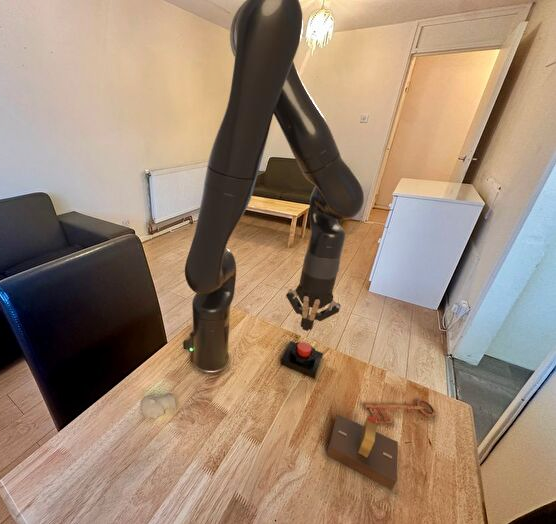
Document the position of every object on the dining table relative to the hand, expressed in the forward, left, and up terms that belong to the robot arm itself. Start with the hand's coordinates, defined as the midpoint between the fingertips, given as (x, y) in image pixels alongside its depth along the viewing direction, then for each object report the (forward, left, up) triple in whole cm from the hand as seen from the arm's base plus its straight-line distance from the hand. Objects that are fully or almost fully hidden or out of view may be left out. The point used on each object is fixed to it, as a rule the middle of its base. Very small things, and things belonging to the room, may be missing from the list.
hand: (306, 328), depth 73 cm
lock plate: (+17, -18, -11) cm, 27 cm away
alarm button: (+1, -1, -7) cm, 7 cm away
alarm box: (+1, -1, -11) cm, 11 cm away
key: (+24, -4, -11) cm, 26 cm away
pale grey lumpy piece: (-22, -33, -11) cm, 41 cm away
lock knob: (+17, -18, -8) cm, 26 cm away
